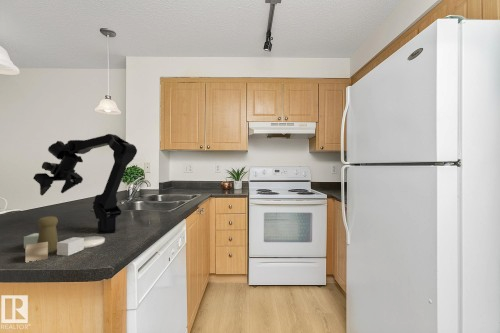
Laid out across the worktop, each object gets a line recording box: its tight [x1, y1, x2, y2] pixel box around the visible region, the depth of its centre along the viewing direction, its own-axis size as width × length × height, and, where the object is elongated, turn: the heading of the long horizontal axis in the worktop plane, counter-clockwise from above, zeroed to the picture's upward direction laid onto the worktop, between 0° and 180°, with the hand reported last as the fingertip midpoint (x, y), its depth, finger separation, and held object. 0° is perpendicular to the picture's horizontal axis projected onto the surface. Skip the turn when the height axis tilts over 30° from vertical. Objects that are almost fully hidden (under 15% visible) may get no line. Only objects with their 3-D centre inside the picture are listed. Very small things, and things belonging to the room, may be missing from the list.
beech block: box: [24, 242, 49, 263], centre depth 74 cm, size 5×5×4 cm
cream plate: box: [82, 235, 106, 249], centre depth 88 cm, size 11×11×1 cm
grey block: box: [56, 236, 85, 256], centre depth 79 cm, size 6×4×4 cm, turn 172°
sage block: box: [23, 232, 39, 249], centre depth 85 cm, size 4×4×4 cm
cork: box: [37, 215, 59, 253], centre depth 81 cm, size 6×6×11 cm
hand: (51, 193), depth 111 cm, fingers open, 9 cm apart
